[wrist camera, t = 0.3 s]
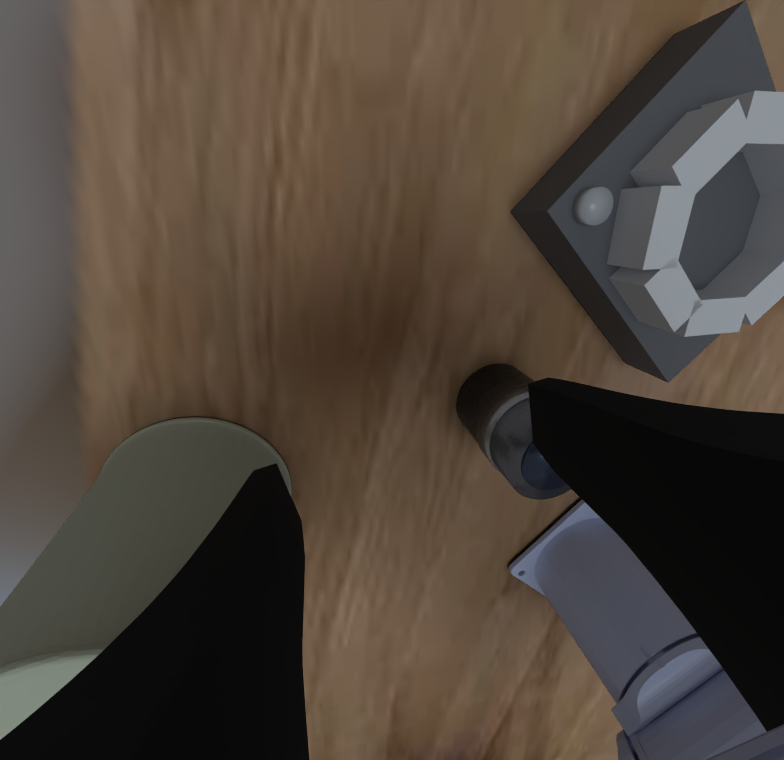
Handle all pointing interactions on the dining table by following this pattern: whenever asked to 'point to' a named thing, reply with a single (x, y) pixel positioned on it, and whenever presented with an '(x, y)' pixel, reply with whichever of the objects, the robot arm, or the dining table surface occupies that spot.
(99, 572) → the can
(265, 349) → the dining table surface
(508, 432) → the lens
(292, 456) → the dining table surface
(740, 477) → the robot arm
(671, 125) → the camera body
